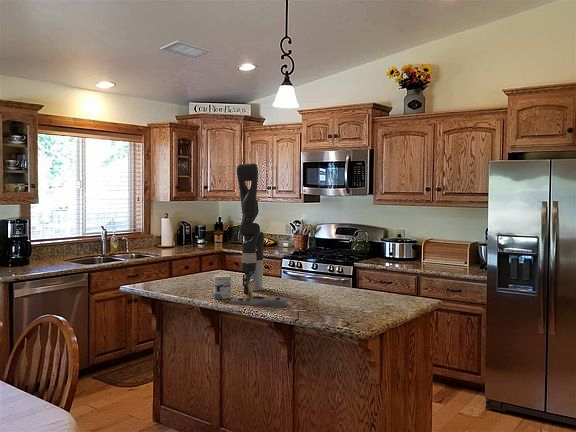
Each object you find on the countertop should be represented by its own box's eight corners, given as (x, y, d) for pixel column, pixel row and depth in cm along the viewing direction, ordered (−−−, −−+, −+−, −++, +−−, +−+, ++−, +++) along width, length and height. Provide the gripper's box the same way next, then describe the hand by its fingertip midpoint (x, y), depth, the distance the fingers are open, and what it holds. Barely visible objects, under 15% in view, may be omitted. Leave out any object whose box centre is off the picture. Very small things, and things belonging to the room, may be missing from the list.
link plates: (233, 300, 267) (233, 293, 267) (287, 304, 262) (287, 296, 262) (229, 303, 260) (230, 296, 260) (285, 307, 256) (285, 299, 255)
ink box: (214, 299, 270) (214, 276, 270) (213, 297, 275) (213, 275, 275) (230, 298, 273) (231, 276, 272) (229, 296, 277) (229, 274, 277)
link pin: (245, 299, 272) (246, 280, 271) (253, 299, 271) (254, 280, 271) (243, 300, 268) (244, 281, 267) (251, 301, 267) (252, 282, 266)
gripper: (245, 259, 276) (244, 290, 277) (238, 262, 262) (237, 294, 263) (259, 260, 275) (258, 290, 275) (252, 263, 261) (251, 295, 261)
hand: (248, 292), depth 269 cm, fingers open, 8 cm apart
